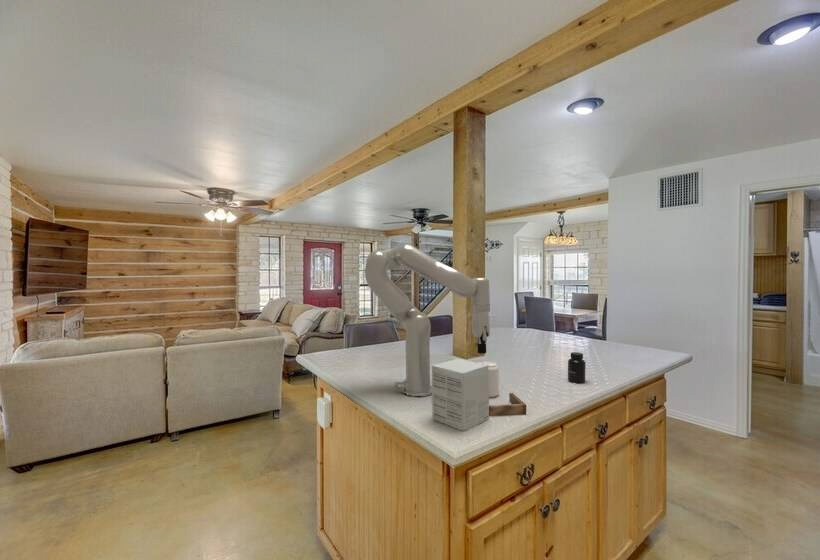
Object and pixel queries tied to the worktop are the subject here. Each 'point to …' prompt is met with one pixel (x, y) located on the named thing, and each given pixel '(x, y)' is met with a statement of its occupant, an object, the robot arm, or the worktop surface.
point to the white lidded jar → (492, 378)
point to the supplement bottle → (576, 368)
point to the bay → (508, 407)
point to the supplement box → (460, 393)
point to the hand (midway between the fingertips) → (481, 353)
